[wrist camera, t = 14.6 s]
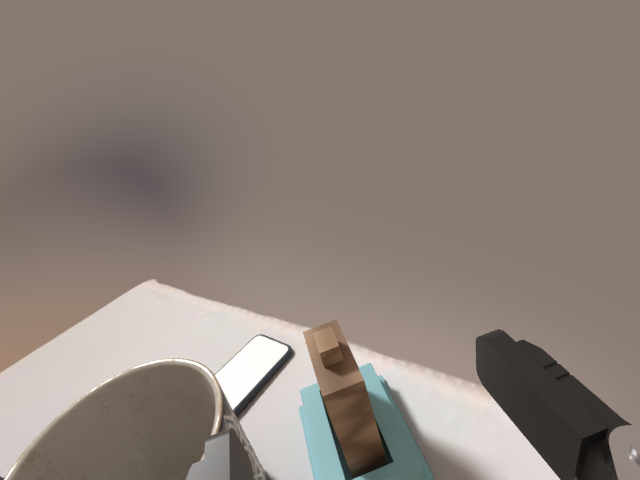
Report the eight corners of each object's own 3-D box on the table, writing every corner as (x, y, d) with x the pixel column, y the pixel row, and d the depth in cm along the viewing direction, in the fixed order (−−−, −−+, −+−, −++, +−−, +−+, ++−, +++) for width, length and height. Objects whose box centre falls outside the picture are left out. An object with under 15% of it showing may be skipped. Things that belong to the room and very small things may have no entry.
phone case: (260, 338, 63) (187, 409, 53) (258, 331, 63) (182, 402, 52) (297, 353, 58) (222, 436, 47) (294, 346, 57) (218, 428, 47)
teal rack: (325, 526, 35) (316, 508, 33) (300, 410, 48) (292, 392, 46) (434, 480, 36) (430, 460, 35) (382, 378, 49) (377, 360, 47)
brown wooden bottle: (354, 482, 37) (316, 381, 30) (331, 411, 45) (297, 318, 38) (388, 467, 38) (359, 364, 31) (360, 400, 46) (332, 305, 39)
